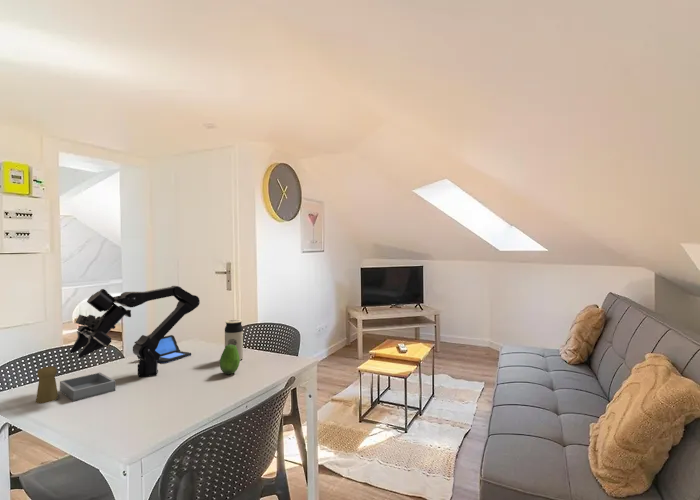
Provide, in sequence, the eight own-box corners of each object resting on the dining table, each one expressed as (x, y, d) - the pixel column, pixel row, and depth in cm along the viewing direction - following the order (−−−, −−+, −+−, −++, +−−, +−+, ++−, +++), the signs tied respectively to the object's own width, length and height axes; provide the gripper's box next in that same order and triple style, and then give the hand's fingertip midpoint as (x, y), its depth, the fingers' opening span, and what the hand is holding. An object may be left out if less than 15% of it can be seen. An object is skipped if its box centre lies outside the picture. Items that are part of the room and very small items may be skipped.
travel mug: (229, 356, 178) (229, 319, 178) (245, 357, 177) (245, 319, 177) (221, 361, 170) (221, 322, 171) (238, 362, 169) (238, 322, 169)
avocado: (240, 375, 152) (240, 345, 152) (219, 377, 149) (219, 347, 149) (239, 369, 159) (239, 341, 159) (219, 371, 157) (219, 342, 157)
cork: (45, 403, 124) (45, 370, 124) (30, 402, 125) (30, 369, 125) (62, 396, 130) (62, 365, 130) (48, 395, 131) (48, 364, 131)
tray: (59, 390, 135) (59, 381, 136) (99, 381, 145) (99, 372, 145) (73, 401, 126) (73, 391, 126) (115, 390, 136) (115, 380, 136)
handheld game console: (164, 364, 168) (164, 343, 168) (144, 361, 174) (144, 340, 174) (192, 355, 182) (192, 336, 182) (173, 352, 188) (173, 334, 188)
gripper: (83, 304, 144) (47, 338, 135) (101, 308, 132) (62, 346, 123) (107, 321, 150) (73, 355, 141) (125, 327, 138) (90, 364, 130)
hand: (74, 354), depth 134 cm, fingers open, 9 cm apart
